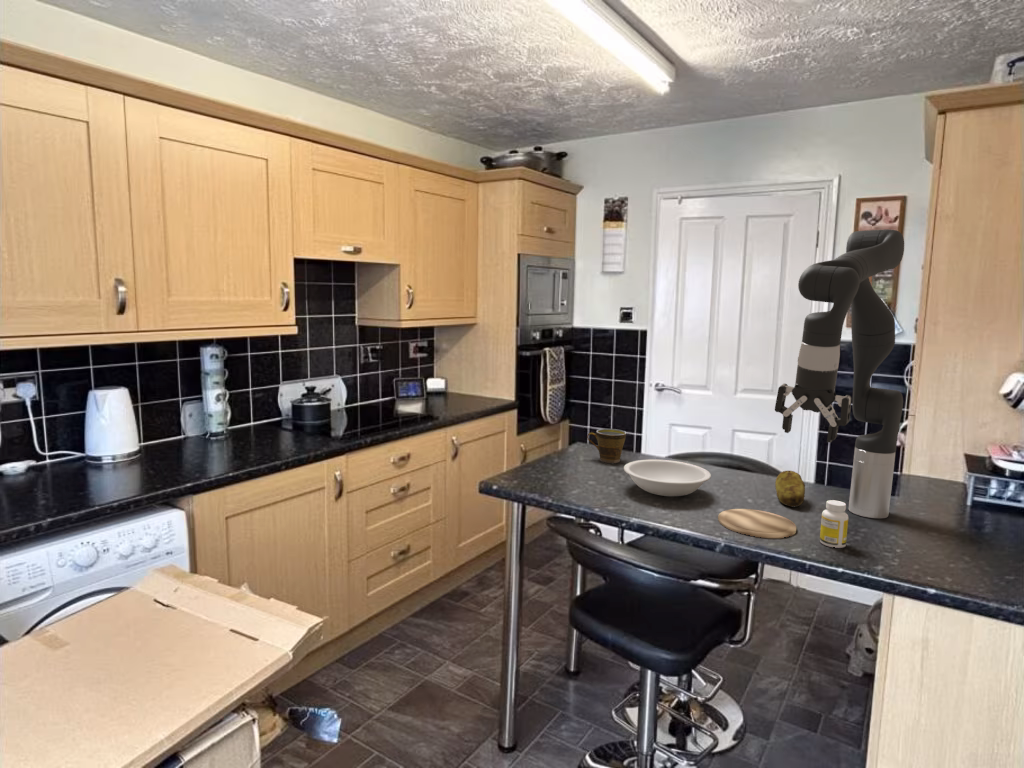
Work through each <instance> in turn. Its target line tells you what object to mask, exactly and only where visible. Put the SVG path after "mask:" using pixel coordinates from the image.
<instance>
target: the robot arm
mask: <svg viewBox="0 0 1024 768" xmlns="http://www.w3.org/2000/svg"><path fill="white" fill-rule="evenodd" d="M845 247H846V248H845V253H843V254H841V255H838V257H836V258H834V259H831V260H825V261H821V262H817V263H813V264H810V265H809V266H808V267H807V268H806V269H804V270H803V272H801V274H800V276H799V279H798V286H797V287H798V291H799V293H800V295H801V296H802V297H803V298H804V299H805V300H808V301H813V302H820V303H821V302H822V303H832V304H833V305H832V308H831V309H830V310H828V311H820V312H819V311H817V312H811V313H808V314H807V315H806V317H805V318H804V323H803V328H802V329H803V331H802V337H801V344H800V347H799V353H798V356H797V367H796V374H795V375H796V376H795V382H794V383H795V384H794V387H793V386H790V385H788V384H787V383H782V384H781V385H780V386H779V387H778V389H777V394H776V400H775V405H774V411H775V412H776V413H780V414H782V416H783V417H782V426H781V428H782V430H783V431H784V433H786V434H789V433H790V432H791V430H792V423H793V417H794V415H793V414H792V413H793V412H795V411H796V410H797V409H798V408H799V407H800V408H801V409H802V410H803V411H810V412H814V413H817V414H819V413H821V414H822V416H823V418H825V419H826V421H827V422H828V423H829V425H828V429H827V438H826V443H830V444H831V443H832V442H833V441H835V440H836V438H837V436H838V432H839V427H840V426H841V427H845V426H846V425H847V424H848V423H849V422H850V420H851V408H852V413H853V414H852V415H853V417H854V419H856V420H857V421H858V422H863V423H868V424H873V425H874V424H877V425H881V426H882V428H881V430H878V431H877V432H873V433H868V434H861V435H858V436H857V437H856V439H855V442H854V443H855V444H854V453H853V461H852V462H853V464H852V471H851V480H850V481H851V482H850V489H849V490H850V491H849V499H848V500H849V501H848V510H849V512H850V513H853V514H854V515H857V516H861V517H864V518H869V519H887V518H888V517H889V512H890V505H891V504H890V503H891V497H892V495H891V494H892V488H893V487H892V486H893V478H894V471H895V461H896V451H897V444H898V438H899V432H900V430H899V429H900V425H901V418H902V415H903V408H904V397H903V394H902V392H901V391H899V390H897V389H896V390H895V389H890V388H889V389H888V388H880V387H872V386H870V381H871V378H872V376H873V375H874V373H875V372H876V371H877V368H878V367H879V366H881V364H882V363H883V362H884V361H885V359H886V358H888V356H889V355H890V353H891V352H892V351H893V349H894V347H895V344H896V321H895V316H894V314H893V312H892V311H891V310H890V308H889V307H888V306H887V305H886V303H885V302H884V301H883V299H882V298H881V297H880V296H879V295H878V293H877V292H876V291H875V289H874V287H873V286H872V283H871V281H870V277H872V276H876V275H877V274H880V273H883V272H886V271H890V270H893V269H896V268H897V267H898V266H899V265H900V263H901V262H902V261H903V256H904V253H905V239H904V235H903V234H902V232H900V231H898V230H897V229H891V228H889V229H871V230H870V229H869V230H868V229H866V230H858V231H857V230H856V231H853V232H851V234H849V236H848V238H847V242H846V246H845ZM850 308H851V309H850ZM849 309H850V310H851V313H850V314H851V322H850V323H851V325H850V326H851V342H852V343H851V345H852V346H851V347H852V359H853V379H852V380H853V382H852V383H853V384H852V396H851V395H850V394H846V395H845V396H844V395H838V394H836V384H837V378H838V373H839V372H838V370H839V363H840V357H841V350H840V349H841V340H842V334H843V329H844V323H845V320H846V317H847V314H848V312H849ZM790 393H791V395H792V397H793V398H794V400H795V402H793V403H792V404H791V405H790V406H788V407H787V406H785V404H786V398H787V397H788V396H789V395H790ZM835 401H836V402H837V405H838V406H839V407H840V417H838V415H837V414H836V410H835V409H834V407H833V405H832V404H833V403H834V402H835ZM851 405H852V406H851Z"/></svg>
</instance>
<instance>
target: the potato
mask: <svg viewBox="0 0 1024 768" xmlns="http://www.w3.org/2000/svg"><path fill="white" fill-rule="evenodd" d="M774 487H775V490H776V496H777V499H778V501H779V502H780V503H782V504H784V505H786V506H788V507H791V508H795V507H799V506H801V505H802V504H803V503H804V501H805V497H806V495H805V493H806V485H805V482H804V481H803V479H802V476H801V474H799V473H798V472H796V471H794V470H784V471H781V472H779V474H778V475H777V477H776V479H775V486H774Z"/></svg>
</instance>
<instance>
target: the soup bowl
mask: <svg viewBox="0 0 1024 768" xmlns="http://www.w3.org/2000/svg"><path fill="white" fill-rule="evenodd" d="M623 470H624V472H625V473H626V474H627V475H629V476H630V478H631V480H632V481H633V482H634V483H635V485H637V486H638V488H640V489H642V490H643V491H645V492H646V493H650V494H654V495H657V496H661V497H662V496H664V497H681V496H687V495H690V494H692V493H694V492H695V491H697V490H698V489H700V488H701V486H702V485H703V483H705V482H707V481H709V480H710V479H711V477H712V474H711V472H710V471H709V470H707V469H705V468H703V467H701V466H699V465H695V464H692V463H689V462H682V461H678V460H677V461H676V460H670V459H669V460H668V459H667V460H666V459H639V460H638V459H637V460H633V461H630V462H628V463H626V464H625V465H624V466H623Z"/></svg>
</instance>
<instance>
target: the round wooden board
mask: <svg viewBox="0 0 1024 768" xmlns="http://www.w3.org/2000/svg"><path fill="white" fill-rule="evenodd" d="M717 520H718V523H719V525H721V526H722V527H724V528H725V529H727V530H730V531H732V532H734V533H737V532H738V533H737V534H740V533H741V535H744V534H746V535H745V536H748V535H750V537H753V536H755V537H754V538H760V537H761V539H762V538H763V539H785V538H784V537H786V538H788V537H789V536H790V537H792V536H795V534H796V533H797V525H796V524H795V522H793V521H792V520H790V519H789V518H787V517H785V516H782V515H779V514H776V513H773V512H769V511H764V510H761V509H760V510H758V509H752V508H751V509H749V508H732V509H726V510H723V511H721V512H720V513H719V514H718V515H717ZM790 537H789V538H790Z"/></svg>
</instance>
